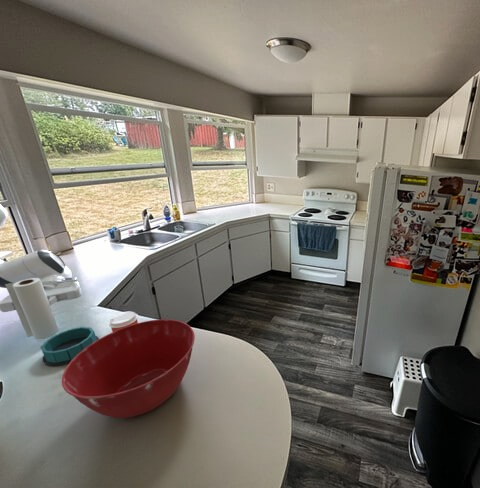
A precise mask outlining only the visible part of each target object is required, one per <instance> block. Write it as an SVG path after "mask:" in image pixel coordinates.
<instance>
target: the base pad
mask: <svg viewBox="0 0 480 488" xmlns="http://www.w3.org/2000/svg"><path fill="white" fill-rule="evenodd" d="M99 339H100V338H99V336H97V335H96V332H95V330H94V329H93V328H92V327H89V326H78V327H73V328H69V329H66V330H64V331H62V332H58V333H57V334H55V335H54V336H51V337H49V338H47V340H46V341H44V342H43V344H42V345H41V346H40V349H41V352H42V354H43V355H42V363H43V364H44V366H47V367H61V366H66V365H68V364H69V363H70V362H71V361H72V360H73V359H74V358H75V357H76V356H77V355H78V354H79V353H80V352H81V351H82V350H84V349H85V348H86V347H88V346H89V345H91V344H92V343H94V342H95V341H97V340H99Z"/></svg>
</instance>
